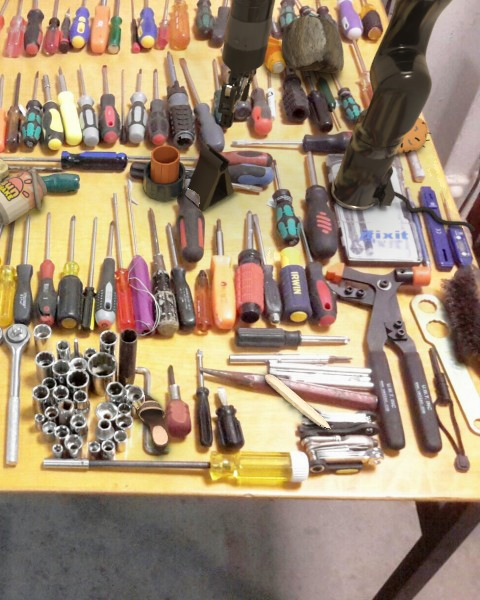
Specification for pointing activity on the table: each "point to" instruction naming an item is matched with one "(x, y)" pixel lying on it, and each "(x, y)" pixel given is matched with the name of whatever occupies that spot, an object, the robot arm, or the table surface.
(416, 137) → the toy
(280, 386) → the light wooden rod
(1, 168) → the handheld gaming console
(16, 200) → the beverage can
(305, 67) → the stone
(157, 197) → the big pot
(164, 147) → the small pot
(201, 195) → the phone stand
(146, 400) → the heeled mule
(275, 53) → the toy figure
